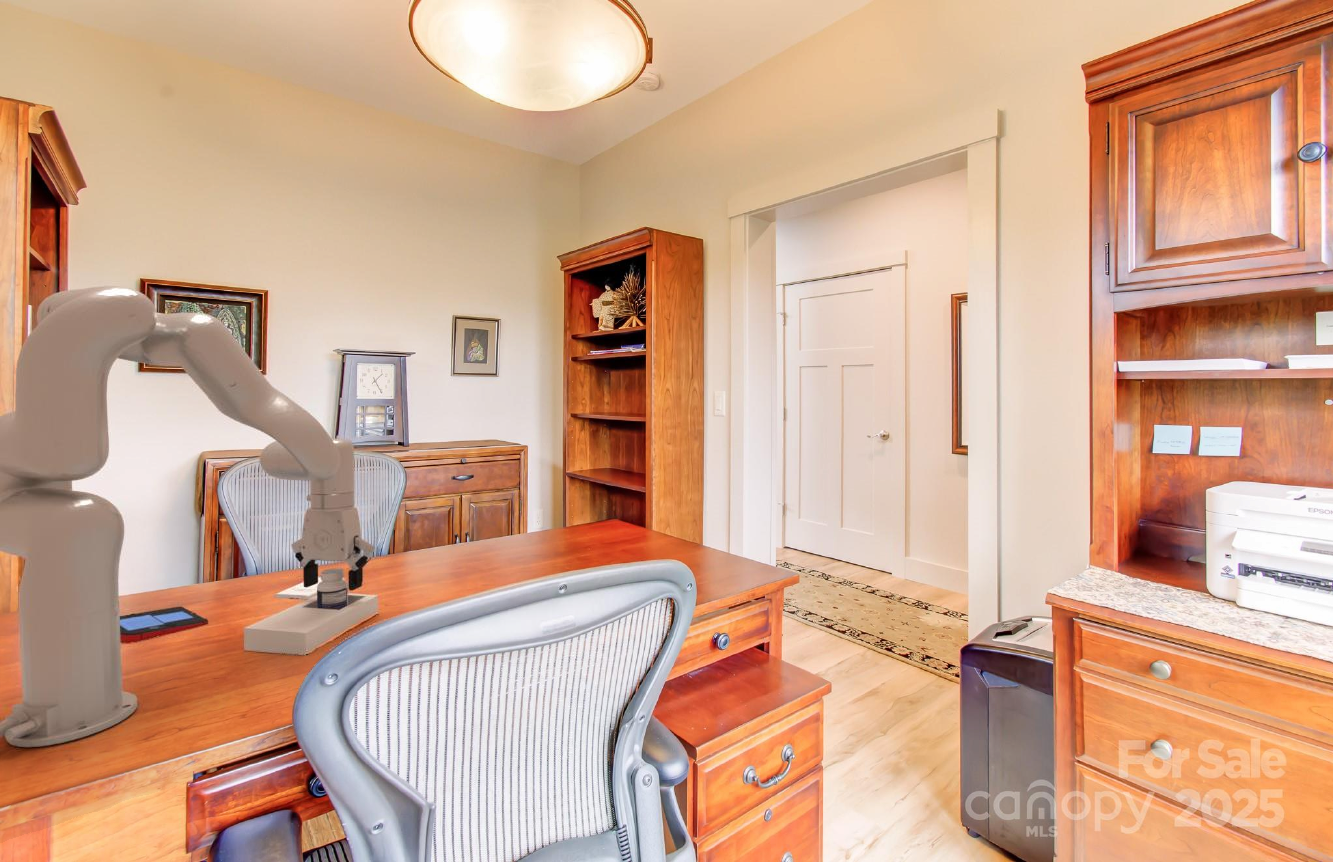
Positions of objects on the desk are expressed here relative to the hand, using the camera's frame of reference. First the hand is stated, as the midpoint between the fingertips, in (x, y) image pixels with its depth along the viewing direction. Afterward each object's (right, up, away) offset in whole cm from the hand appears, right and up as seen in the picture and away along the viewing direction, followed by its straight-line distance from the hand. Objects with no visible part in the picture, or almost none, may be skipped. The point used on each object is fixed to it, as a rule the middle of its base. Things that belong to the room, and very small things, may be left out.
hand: (333, 586), depth 117 cm
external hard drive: (-16, -7, +20) cm, 26 cm away
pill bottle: (0, -7, +1) cm, 7 cm away
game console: (-33, -8, -3) cm, 34 cm away
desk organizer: (-1, -7, -4) cm, 8 cm away
